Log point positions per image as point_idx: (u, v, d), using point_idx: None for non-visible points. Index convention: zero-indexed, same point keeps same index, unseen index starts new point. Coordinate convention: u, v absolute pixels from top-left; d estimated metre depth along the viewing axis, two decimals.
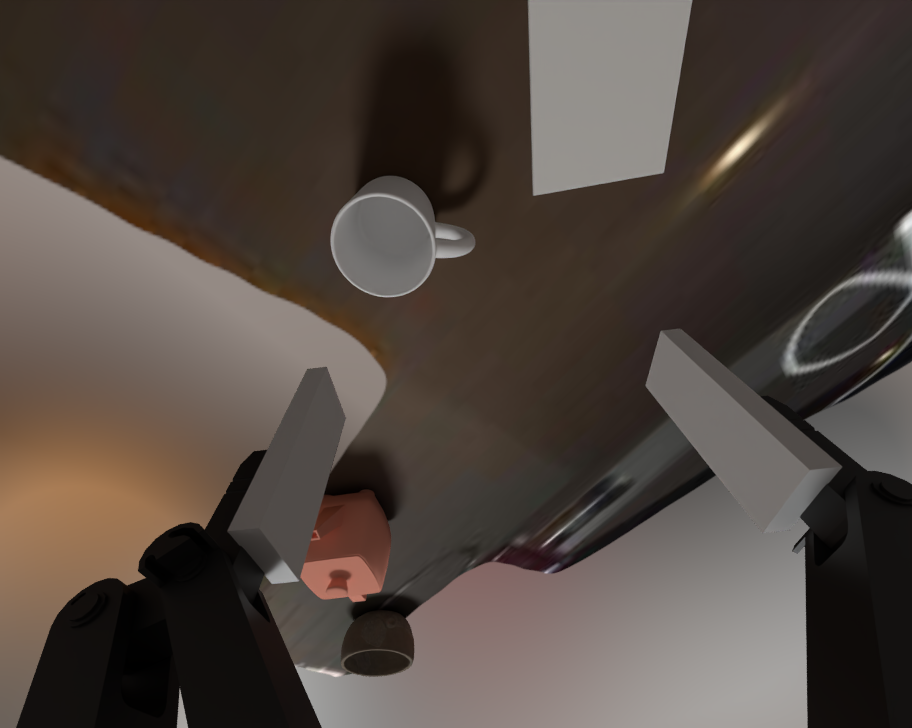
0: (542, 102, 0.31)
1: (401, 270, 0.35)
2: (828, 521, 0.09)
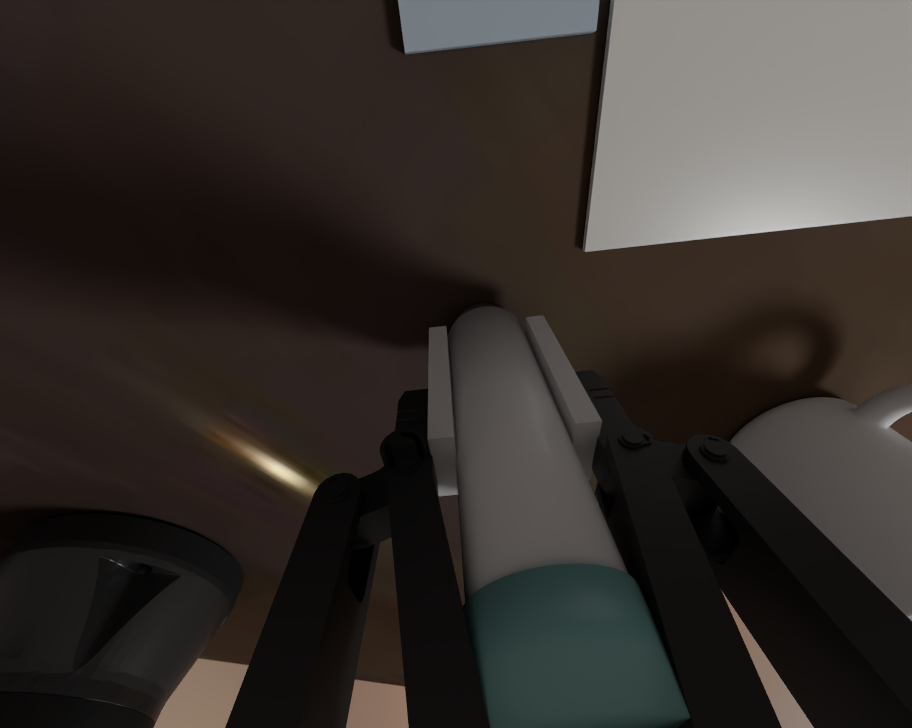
0: (770, 207, 0.14)
1: None
2: (604, 477, 0.10)
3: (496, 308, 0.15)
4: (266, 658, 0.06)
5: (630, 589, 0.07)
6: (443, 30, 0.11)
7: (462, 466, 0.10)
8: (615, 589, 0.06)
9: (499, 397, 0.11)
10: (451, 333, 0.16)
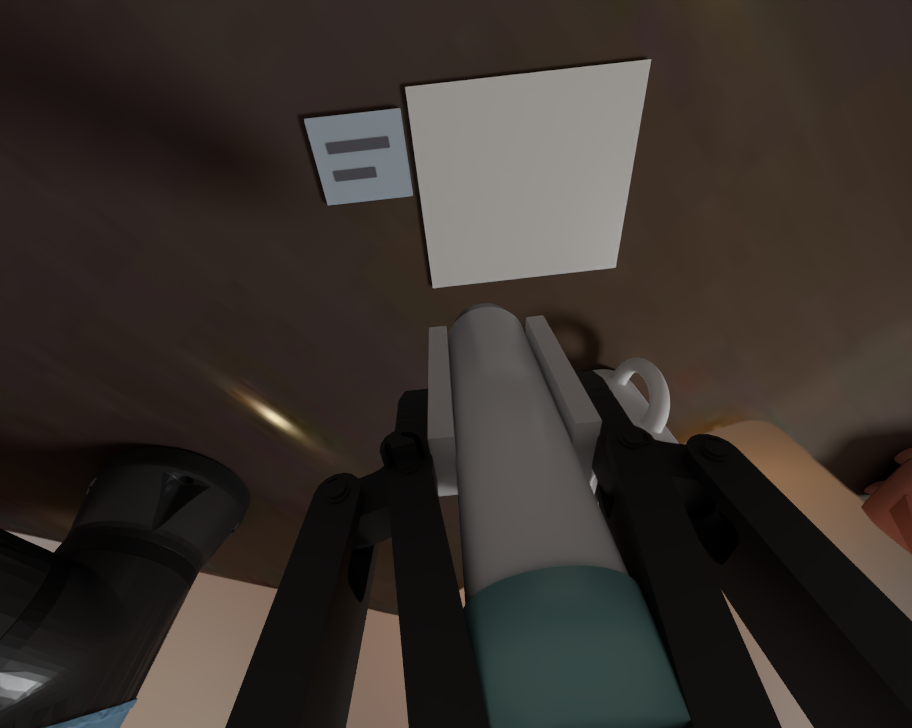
0: (524, 265, 0.28)
1: None
2: (604, 477, 0.10)
3: (496, 309, 0.15)
4: (266, 658, 0.06)
5: (631, 591, 0.07)
6: (344, 197, 0.25)
7: (462, 467, 0.10)
8: (616, 591, 0.06)
9: (499, 398, 0.11)
10: (451, 334, 0.16)
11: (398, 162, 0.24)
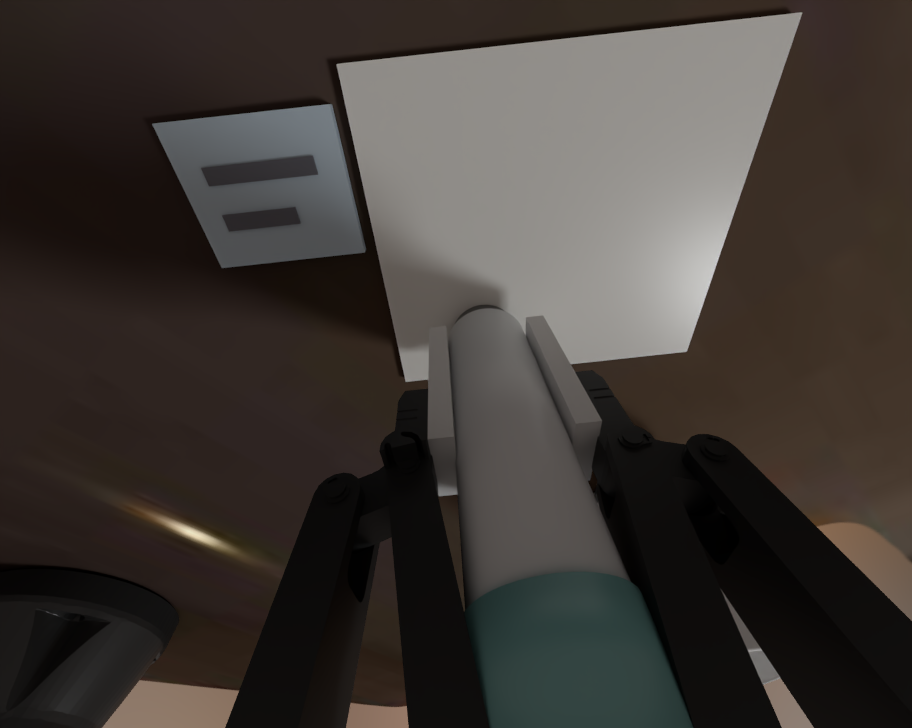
0: None
1: None
2: (604, 477, 0.10)
3: (496, 310, 0.15)
4: (266, 658, 0.06)
5: (633, 598, 0.06)
6: (247, 255, 0.15)
7: (462, 470, 0.10)
8: (618, 598, 0.06)
9: (499, 400, 0.10)
10: (451, 335, 0.16)
11: (336, 200, 0.14)
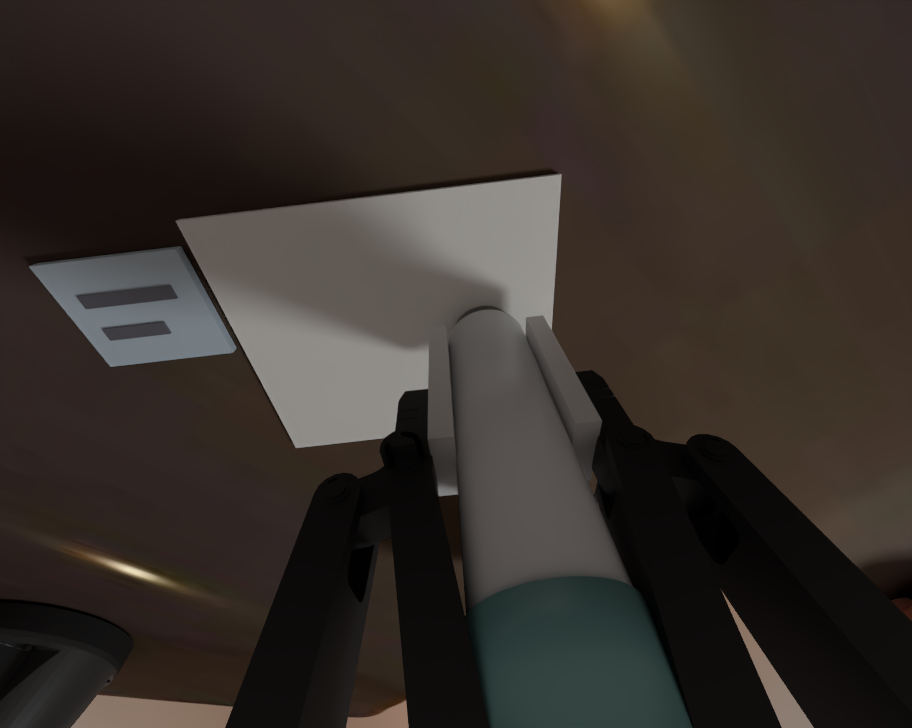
0: None
1: None
2: (604, 477, 0.10)
3: (496, 311, 0.15)
4: (266, 658, 0.06)
5: (634, 602, 0.06)
6: (131, 357, 0.17)
7: (463, 473, 0.10)
8: (619, 603, 0.06)
9: (499, 403, 0.10)
10: (451, 337, 0.16)
11: (198, 315, 0.16)
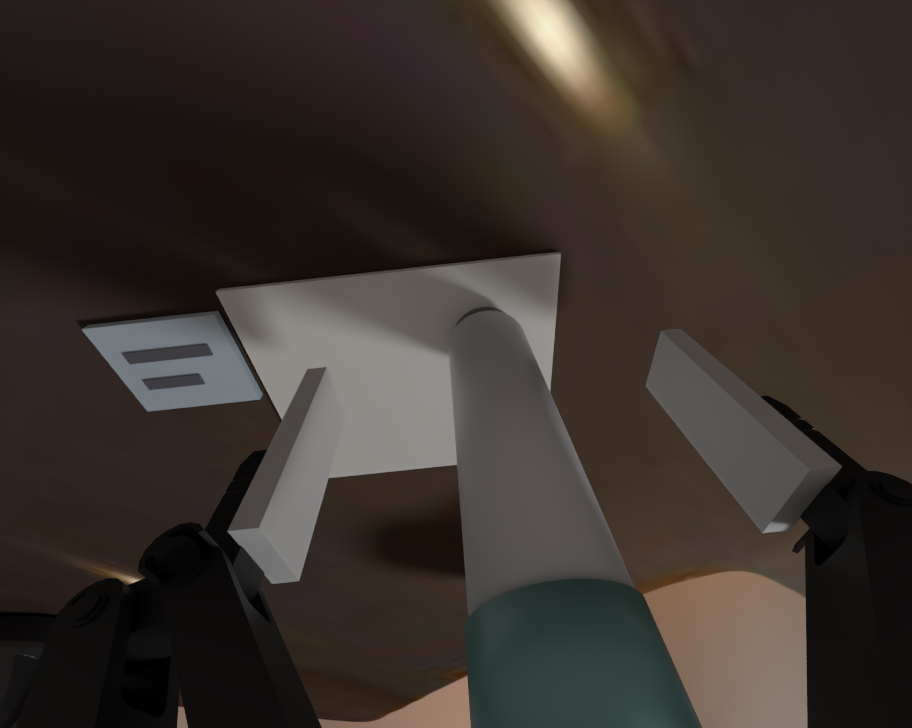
0: (426, 457, 0.22)
1: None
2: (828, 521, 0.09)
3: (497, 312, 0.15)
4: None
5: (636, 604, 0.06)
6: (166, 403, 0.18)
7: (464, 475, 0.10)
8: (620, 605, 0.06)
9: (500, 404, 0.10)
10: (452, 338, 0.16)
11: (230, 368, 0.17)
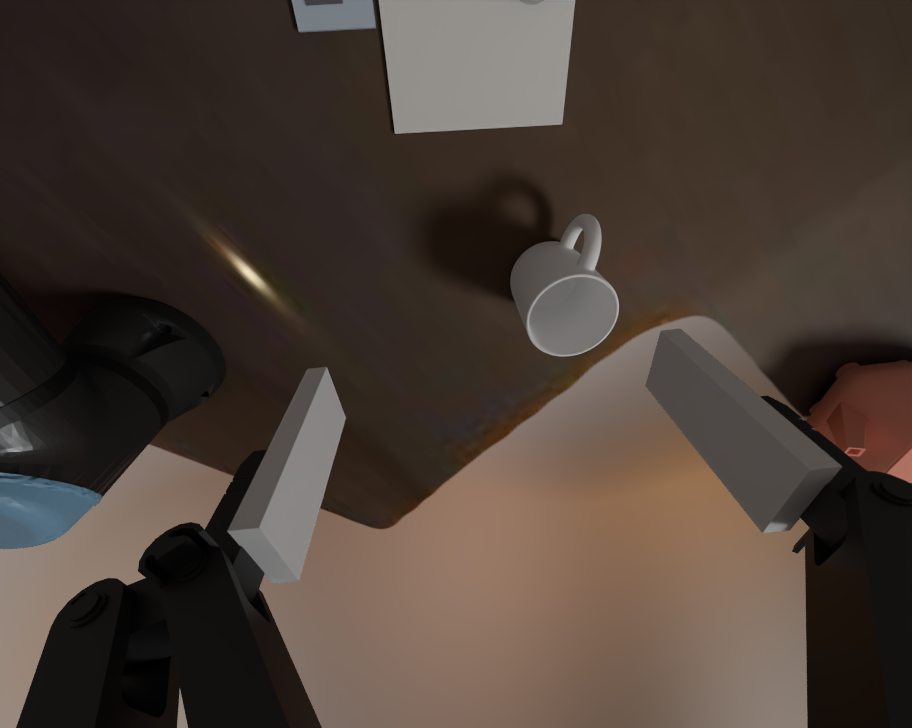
0: (478, 115, 0.31)
1: (593, 290, 0.36)
2: (828, 521, 0.09)
3: None
4: None
5: None
6: (313, 23, 0.27)
7: None
8: None
9: None
10: None
11: None
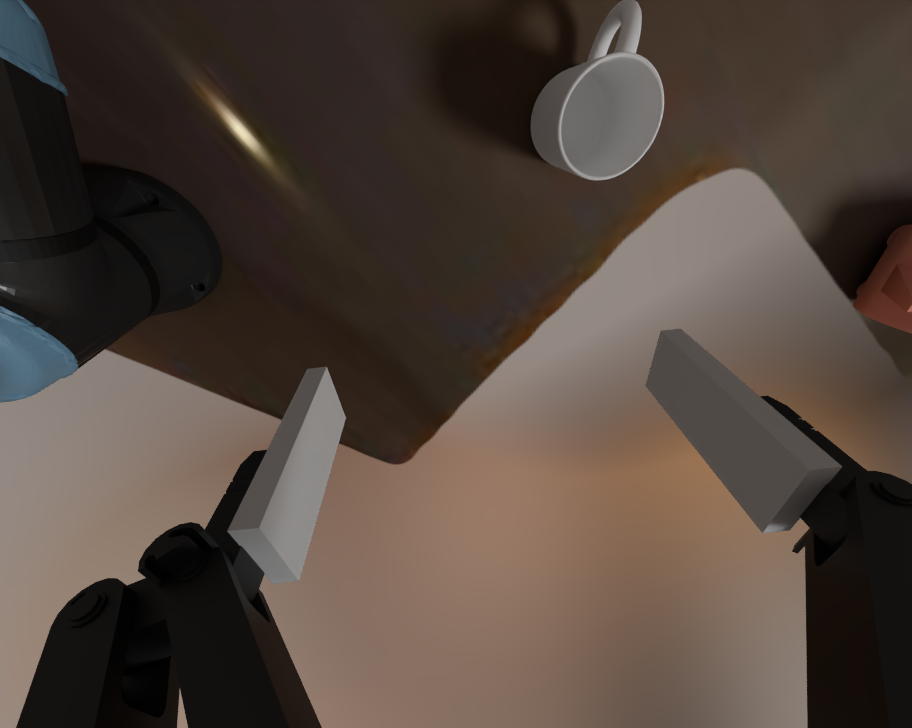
0: None
1: (627, 115, 0.32)
2: (828, 521, 0.09)
3: None
4: None
5: None
6: None
7: None
8: None
9: None
10: None
11: None
